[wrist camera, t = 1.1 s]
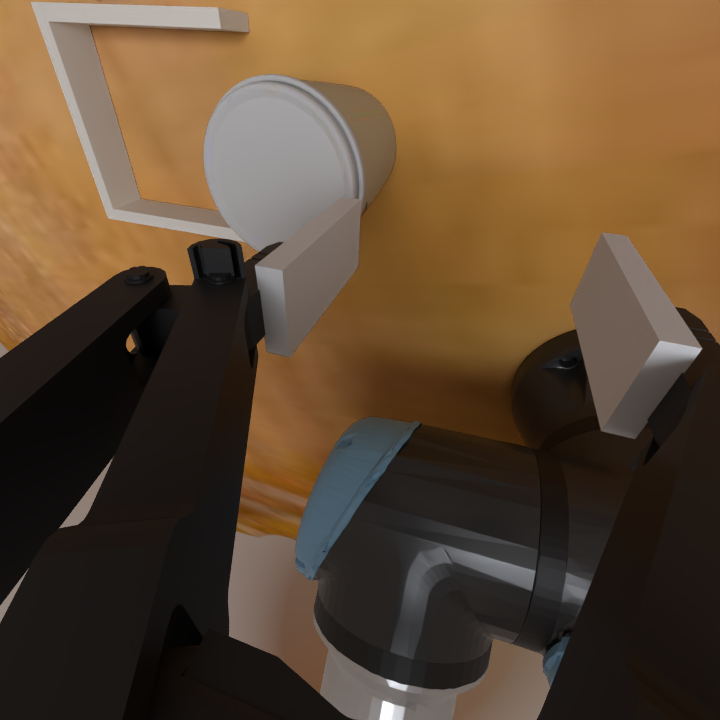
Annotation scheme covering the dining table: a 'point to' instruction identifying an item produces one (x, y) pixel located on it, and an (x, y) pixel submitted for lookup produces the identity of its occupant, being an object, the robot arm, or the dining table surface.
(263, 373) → the dining table surface
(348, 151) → the coffee cup
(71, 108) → the frame
